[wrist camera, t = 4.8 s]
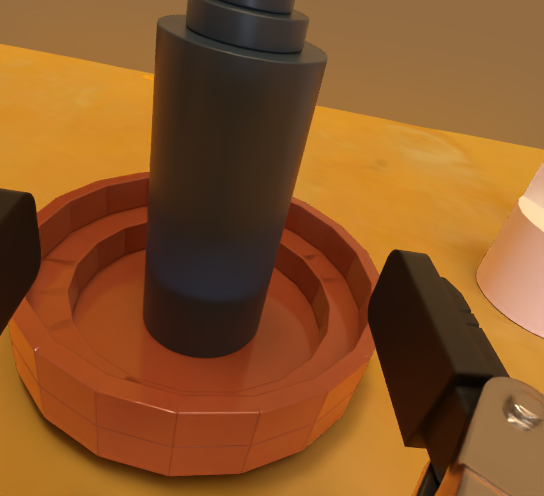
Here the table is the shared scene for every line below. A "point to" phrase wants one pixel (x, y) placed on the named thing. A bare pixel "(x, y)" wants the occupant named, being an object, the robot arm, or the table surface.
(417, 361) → the robot arm
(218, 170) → the flask
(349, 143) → the table surface
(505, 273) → the cylinder with rectangular tab
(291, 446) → the bowl
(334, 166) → the table surface
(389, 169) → the table surface
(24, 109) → the table surface
